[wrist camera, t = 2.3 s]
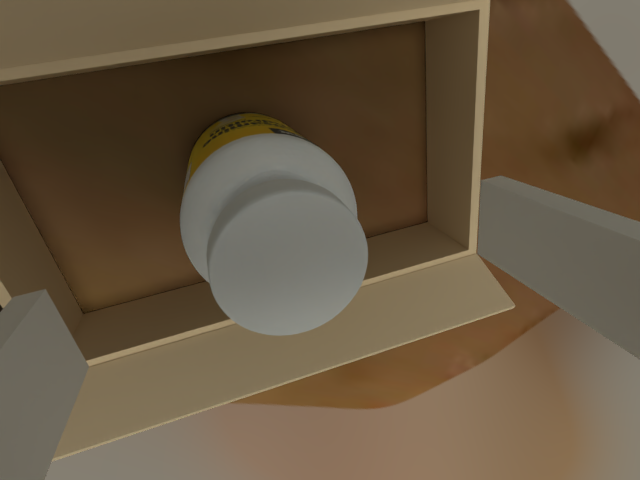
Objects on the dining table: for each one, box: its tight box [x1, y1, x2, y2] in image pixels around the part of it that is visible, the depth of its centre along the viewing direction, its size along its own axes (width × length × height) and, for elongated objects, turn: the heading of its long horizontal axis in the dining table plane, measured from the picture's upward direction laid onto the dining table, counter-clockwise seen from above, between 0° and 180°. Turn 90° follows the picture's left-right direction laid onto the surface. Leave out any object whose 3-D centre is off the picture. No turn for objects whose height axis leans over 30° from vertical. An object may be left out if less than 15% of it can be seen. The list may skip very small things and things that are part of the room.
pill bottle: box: [180, 113, 368, 336], centre depth 16 cm, size 6×6×12 cm
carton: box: [0, 0, 515, 461], centre depth 17 cm, size 16×23×8 cm
